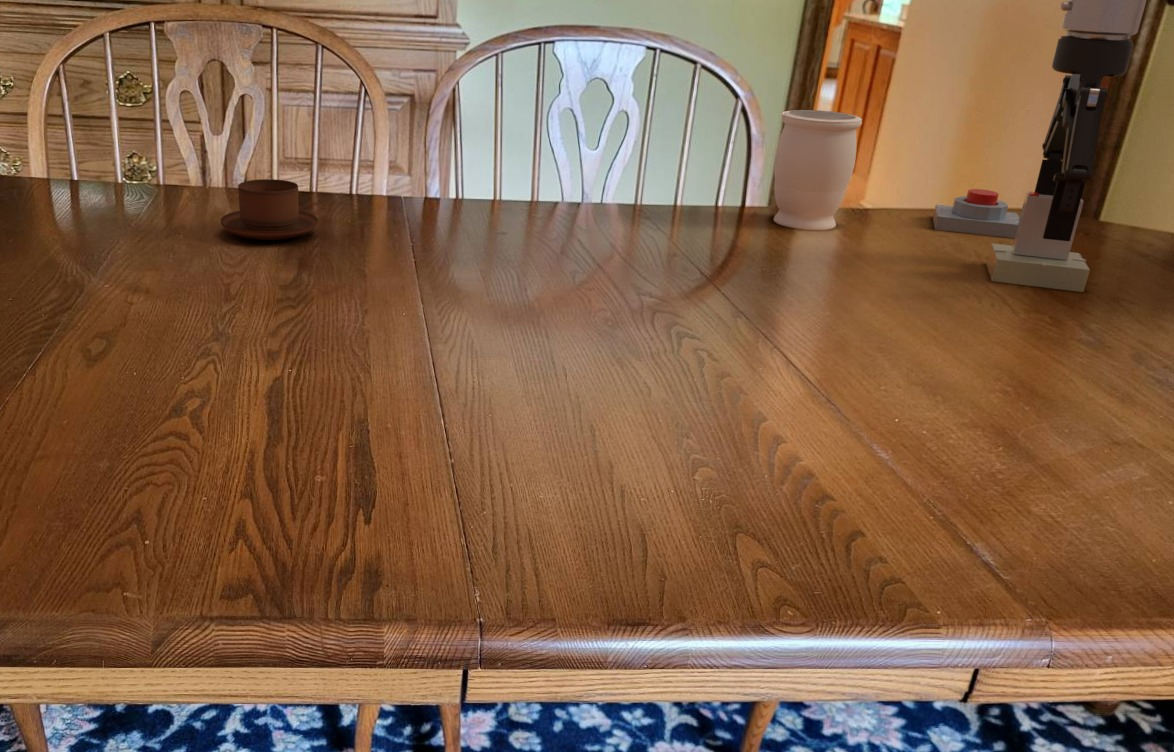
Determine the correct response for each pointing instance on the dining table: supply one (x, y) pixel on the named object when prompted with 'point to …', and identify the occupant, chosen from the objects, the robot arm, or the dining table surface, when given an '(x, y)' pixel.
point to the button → (982, 197)
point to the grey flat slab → (1039, 230)
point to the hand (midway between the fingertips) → (1048, 226)
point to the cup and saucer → (269, 211)
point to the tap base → (1037, 269)
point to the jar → (813, 167)
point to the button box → (976, 218)
